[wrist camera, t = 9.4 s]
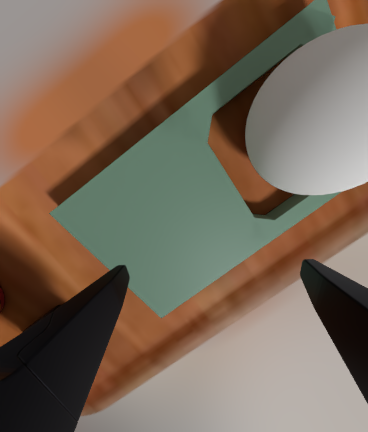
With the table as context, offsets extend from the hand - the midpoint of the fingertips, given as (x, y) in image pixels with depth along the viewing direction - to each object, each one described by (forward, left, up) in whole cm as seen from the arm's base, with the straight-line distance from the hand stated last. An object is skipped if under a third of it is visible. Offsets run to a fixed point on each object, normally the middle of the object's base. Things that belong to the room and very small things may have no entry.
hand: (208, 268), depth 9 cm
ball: (+13, 0, -6) cm, 15 cm away
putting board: (+5, 0, -12) cm, 13 cm away
